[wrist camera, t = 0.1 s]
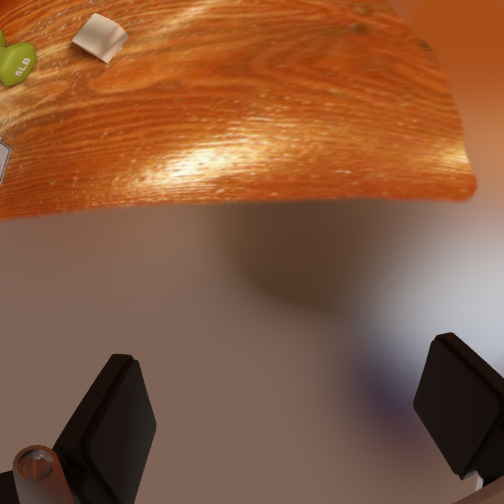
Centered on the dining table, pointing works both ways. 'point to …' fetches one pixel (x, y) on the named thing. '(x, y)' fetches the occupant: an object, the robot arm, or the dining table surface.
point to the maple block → (101, 37)
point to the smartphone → (4, 158)
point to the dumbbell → (15, 61)
